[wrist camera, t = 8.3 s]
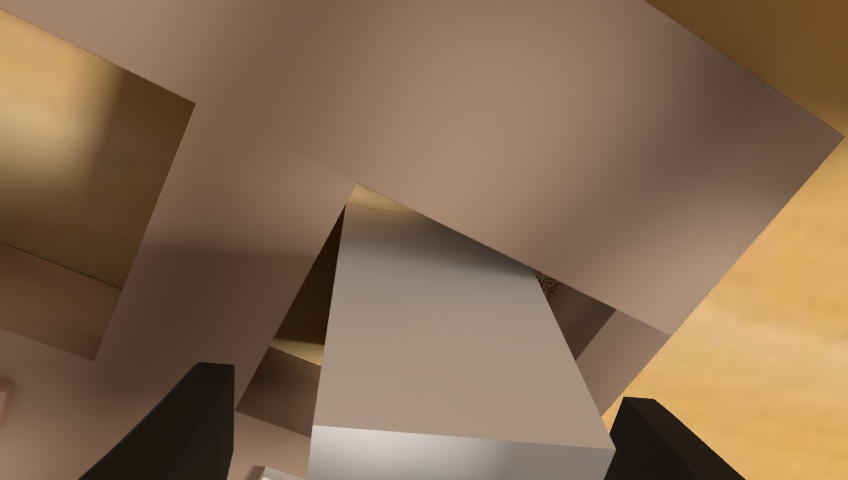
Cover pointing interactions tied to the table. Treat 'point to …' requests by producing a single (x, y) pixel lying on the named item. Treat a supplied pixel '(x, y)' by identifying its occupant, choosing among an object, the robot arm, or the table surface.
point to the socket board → (391, 194)
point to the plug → (446, 365)
